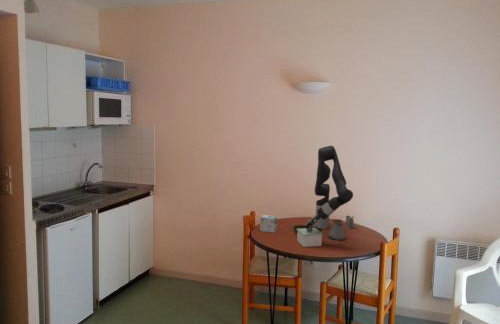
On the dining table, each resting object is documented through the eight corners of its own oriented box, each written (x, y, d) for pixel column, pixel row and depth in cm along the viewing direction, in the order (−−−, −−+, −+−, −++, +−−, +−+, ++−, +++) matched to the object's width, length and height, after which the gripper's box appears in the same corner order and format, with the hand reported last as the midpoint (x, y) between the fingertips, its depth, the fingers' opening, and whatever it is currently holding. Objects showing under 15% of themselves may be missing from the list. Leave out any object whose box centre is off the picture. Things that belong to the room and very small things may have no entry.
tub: (314, 241, 264) (314, 229, 263) (321, 246, 253) (321, 234, 252) (297, 242, 262) (297, 230, 261) (303, 248, 250) (303, 235, 249)
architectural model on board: (353, 229, 294) (354, 216, 293) (349, 229, 294) (350, 216, 293) (349, 225, 306) (350, 213, 304) (345, 225, 306) (346, 213, 304)
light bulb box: (276, 230, 287) (277, 216, 286) (274, 233, 281) (274, 218, 280) (262, 228, 291) (263, 214, 290) (259, 231, 285) (260, 216, 283)
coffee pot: (327, 236, 276) (328, 215, 274) (343, 236, 275) (344, 215, 274) (332, 246, 254) (333, 223, 253) (350, 246, 254) (351, 224, 252)
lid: (314, 230, 264) (315, 217, 263) (322, 236, 251) (323, 222, 250) (296, 231, 261) (296, 218, 260) (303, 237, 249) (303, 223, 247)
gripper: (324, 203, 258) (305, 219, 264) (319, 208, 245) (300, 224, 250) (332, 212, 256) (313, 228, 262) (327, 217, 243) (308, 234, 249)
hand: (306, 226), depth 256 cm, fingers open, 5 cm apart
